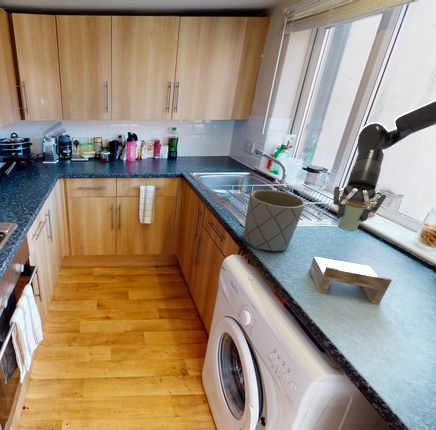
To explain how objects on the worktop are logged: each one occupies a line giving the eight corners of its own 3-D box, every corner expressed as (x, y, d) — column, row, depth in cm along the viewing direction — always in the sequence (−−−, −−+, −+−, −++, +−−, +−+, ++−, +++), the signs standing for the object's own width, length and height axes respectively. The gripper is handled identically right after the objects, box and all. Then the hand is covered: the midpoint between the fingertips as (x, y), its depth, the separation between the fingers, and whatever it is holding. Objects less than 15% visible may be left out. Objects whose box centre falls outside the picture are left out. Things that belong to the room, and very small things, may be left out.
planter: (276, 232, 127) (288, 190, 119) (300, 255, 110) (316, 208, 102) (233, 231, 128) (242, 188, 119) (250, 254, 110) (262, 206, 102)
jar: (353, 225, 99) (363, 201, 95) (359, 232, 94) (369, 207, 90) (334, 223, 101) (343, 199, 97) (339, 229, 96) (349, 205, 92)
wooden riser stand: (363, 281, 96) (373, 258, 92) (379, 304, 86) (392, 280, 82) (308, 270, 101) (316, 249, 97) (318, 291, 91) (327, 268, 87)
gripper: (340, 166, 99) (326, 208, 95) (396, 173, 91) (383, 220, 87) (336, 177, 105) (323, 217, 101) (388, 185, 97) (375, 229, 93)
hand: (351, 218), depth 94 cm, fingers closed on jar, 5 cm apart
